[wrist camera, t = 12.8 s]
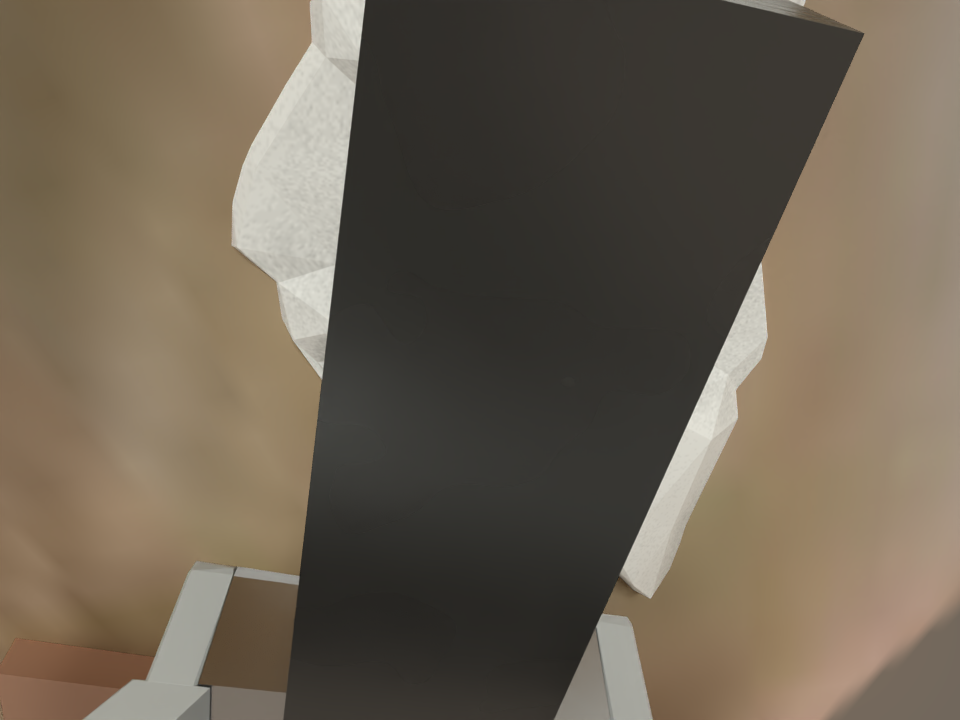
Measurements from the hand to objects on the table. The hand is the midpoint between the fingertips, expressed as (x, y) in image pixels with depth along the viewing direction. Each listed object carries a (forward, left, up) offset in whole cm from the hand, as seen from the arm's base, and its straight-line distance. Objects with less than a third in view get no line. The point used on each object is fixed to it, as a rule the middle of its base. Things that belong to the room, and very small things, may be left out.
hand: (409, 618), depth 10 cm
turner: (+1, 0, -2) cm, 2 cm away
